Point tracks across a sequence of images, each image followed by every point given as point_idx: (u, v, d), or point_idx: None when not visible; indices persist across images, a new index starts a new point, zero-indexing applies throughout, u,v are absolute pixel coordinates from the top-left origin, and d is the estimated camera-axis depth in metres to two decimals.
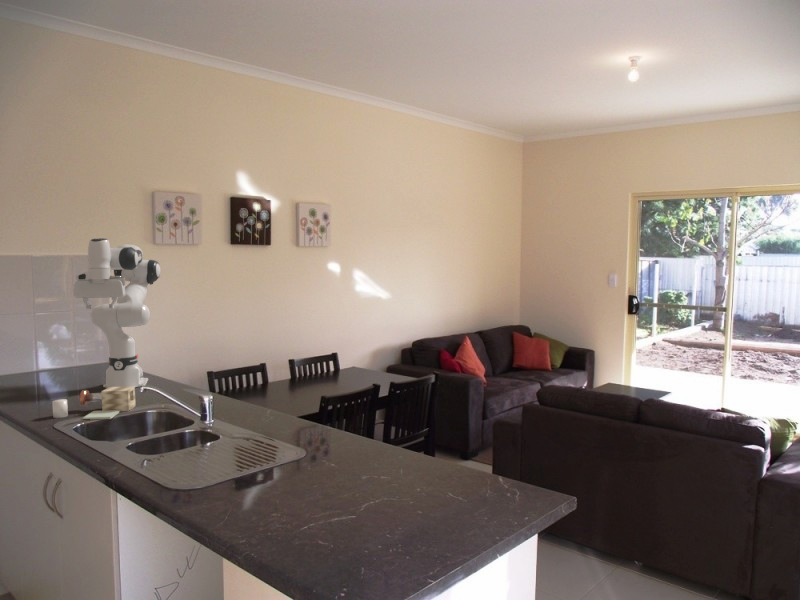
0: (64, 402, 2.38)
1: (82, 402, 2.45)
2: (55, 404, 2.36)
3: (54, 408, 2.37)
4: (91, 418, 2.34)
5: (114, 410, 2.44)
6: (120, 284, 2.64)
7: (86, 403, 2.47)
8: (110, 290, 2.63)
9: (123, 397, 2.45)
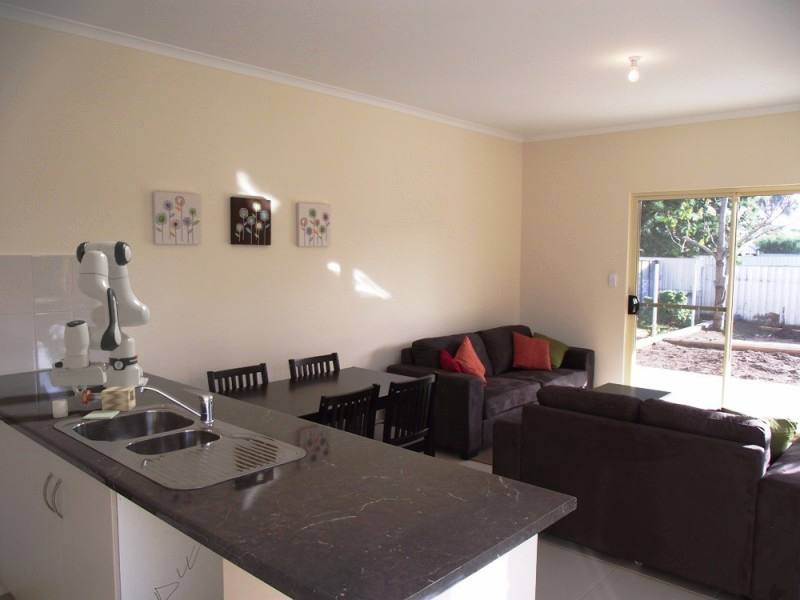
0: (64, 402, 2.38)
1: (84, 402, 2.45)
2: (55, 404, 2.36)
3: (54, 408, 2.37)
4: (91, 418, 2.34)
5: (114, 410, 2.44)
6: (100, 371, 2.45)
7: (88, 403, 2.47)
8: (90, 378, 2.45)
9: (123, 397, 2.45)
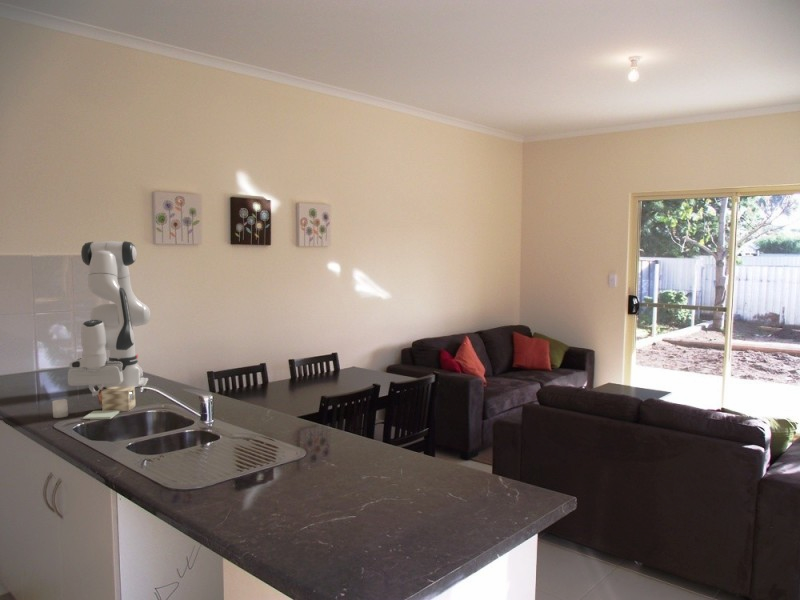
0: (64, 402, 2.38)
1: (101, 401, 2.45)
2: (55, 404, 2.36)
3: (54, 408, 2.37)
4: (91, 418, 2.34)
5: (114, 410, 2.44)
6: (117, 371, 2.46)
7: None
8: (107, 377, 2.46)
9: (123, 397, 2.45)
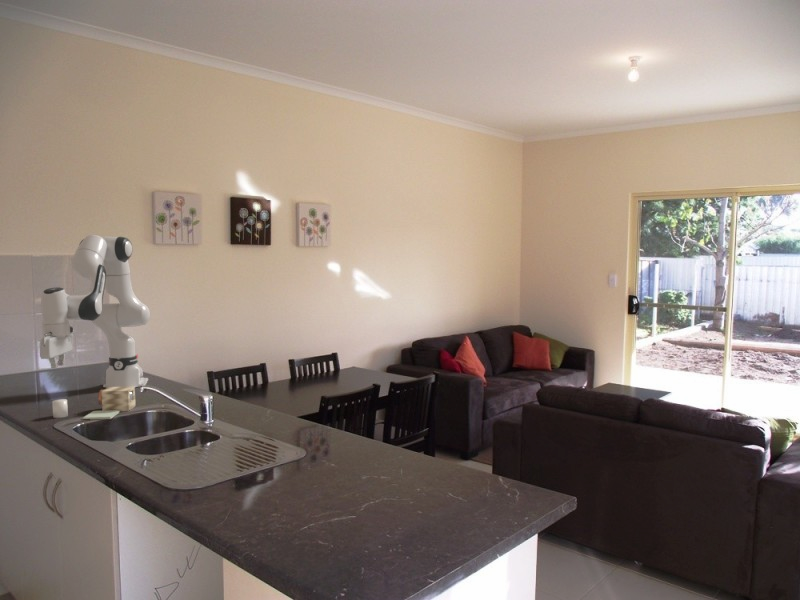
0: (64, 402, 2.38)
1: (101, 401, 2.45)
2: (55, 404, 2.36)
3: (54, 408, 2.37)
4: (91, 418, 2.34)
5: (114, 410, 2.44)
6: (40, 344, 2.28)
7: None
8: None
9: (123, 397, 2.45)
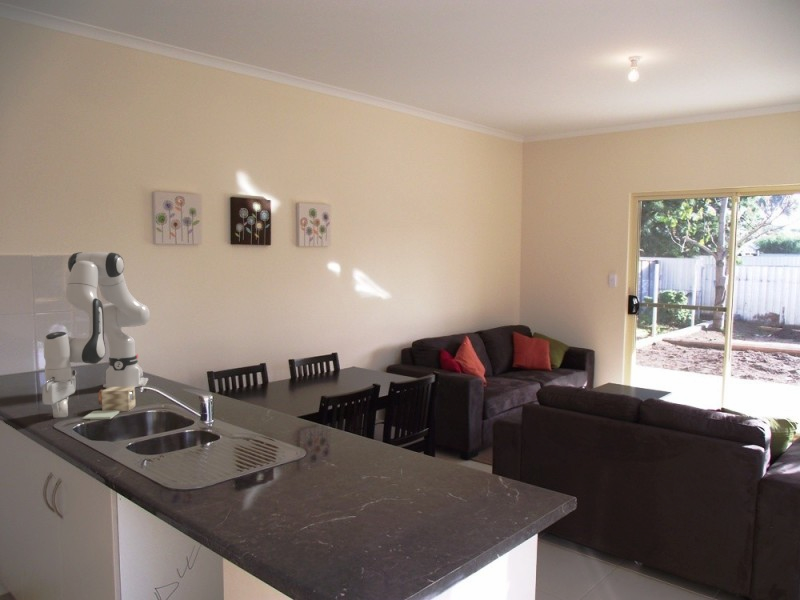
0: (64, 402, 2.38)
1: (101, 401, 2.45)
2: None
3: None
4: (91, 418, 2.34)
5: (114, 410, 2.44)
6: None
7: None
8: None
9: (123, 397, 2.45)
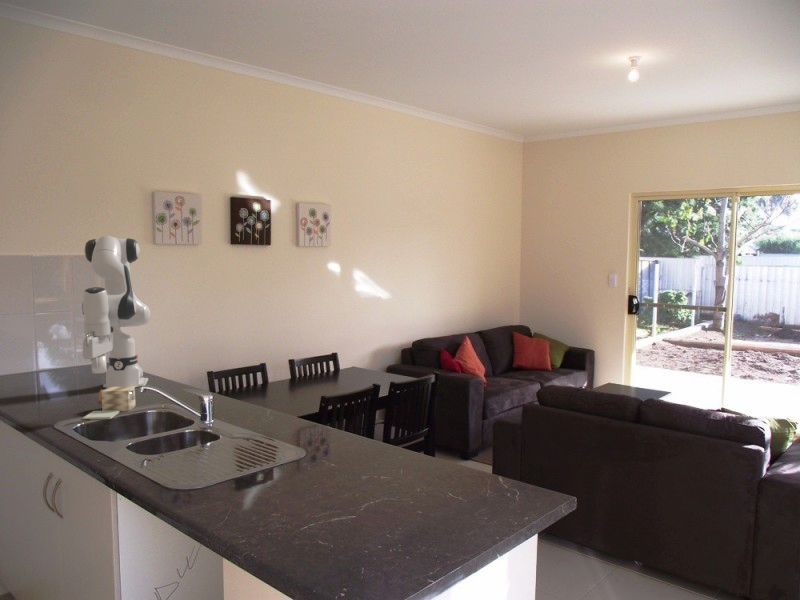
0: (103, 358, 2.36)
1: (101, 401, 2.45)
2: None
3: None
4: (91, 418, 2.34)
5: (114, 410, 2.44)
6: (83, 344, 2.27)
7: None
8: None
9: (123, 397, 2.45)
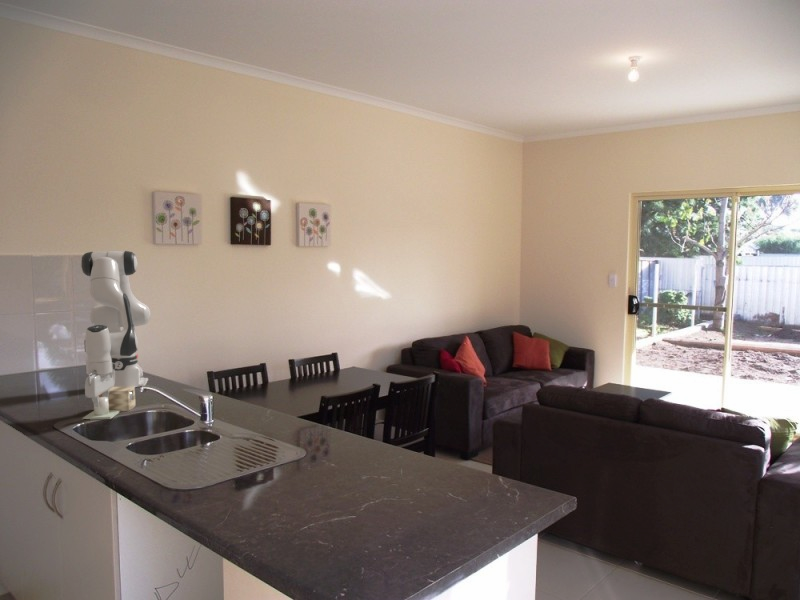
0: (105, 400, 2.37)
1: None
2: None
3: None
4: (91, 418, 2.34)
5: (114, 410, 2.44)
6: (85, 383, 2.28)
7: None
8: None
9: (123, 397, 2.45)
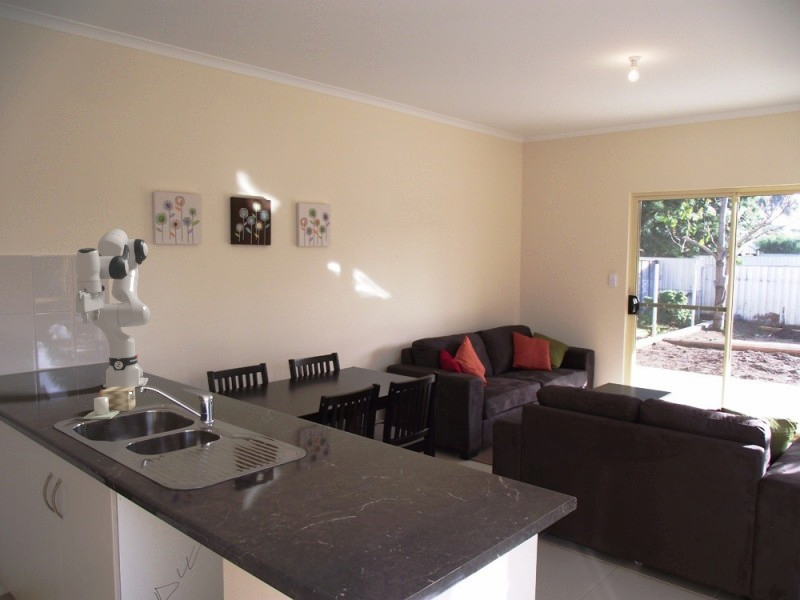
0: (105, 399, 2.37)
1: None
2: (96, 401, 2.36)
3: (95, 405, 2.36)
4: (91, 418, 2.34)
5: (114, 410, 2.44)
6: None
7: None
8: None
9: (123, 397, 2.45)
